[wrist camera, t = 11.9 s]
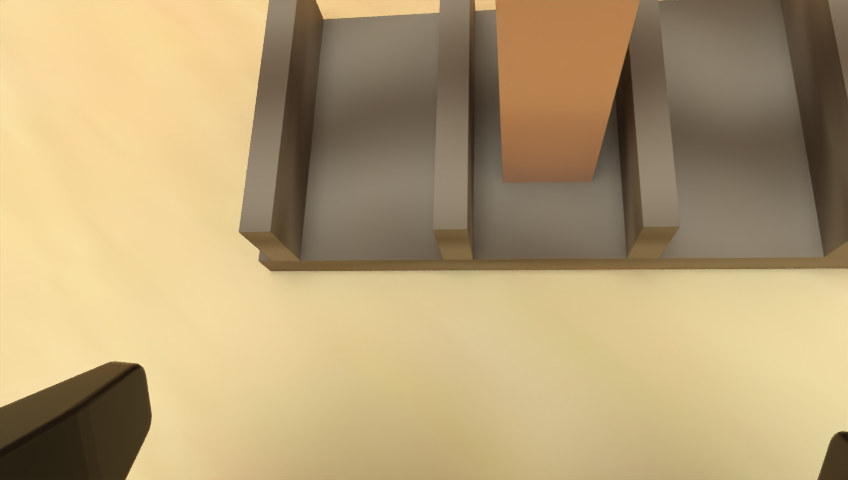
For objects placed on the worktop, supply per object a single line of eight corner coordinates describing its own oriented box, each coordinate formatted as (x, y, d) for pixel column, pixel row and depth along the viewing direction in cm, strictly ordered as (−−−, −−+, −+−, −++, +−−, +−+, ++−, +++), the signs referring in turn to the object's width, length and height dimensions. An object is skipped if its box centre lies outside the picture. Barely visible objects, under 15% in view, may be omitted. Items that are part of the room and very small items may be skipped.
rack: (857, 268, 22) (932, 223, 18) (270, 270, 24) (223, 232, 20) (809, 12, 25) (865, -73, 21) (296, 39, 28) (260, -32, 24)
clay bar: (591, 181, 23) (681, -156, 10) (502, 182, 23) (489, -141, 11) (587, 68, 24) (661, -345, 12) (504, 70, 24) (493, -326, 12)
